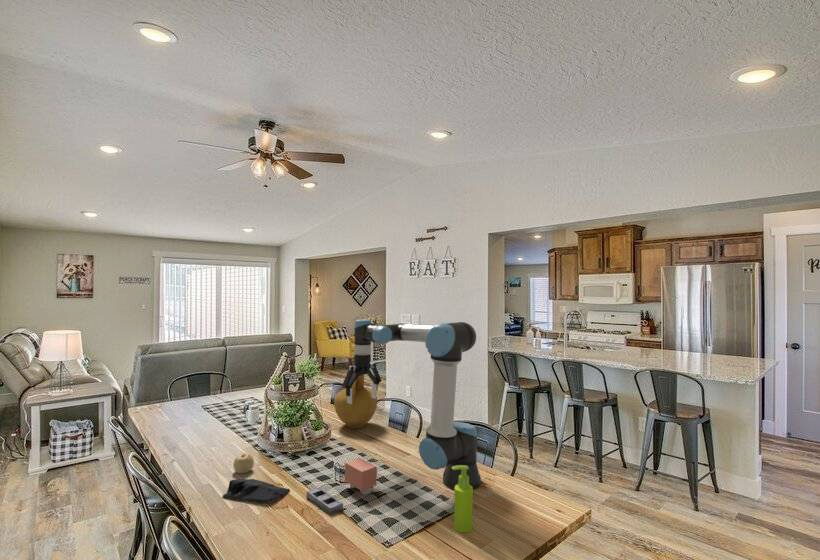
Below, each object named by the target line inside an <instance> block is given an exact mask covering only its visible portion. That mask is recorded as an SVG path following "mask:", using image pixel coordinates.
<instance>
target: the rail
mask: <svg viewBox="0 0 820 560" xmlns="http://www.w3.org/2000/svg"><path fill="white" fill-rule="evenodd" d="M306 499H308V500H310V501H311V502H312V503H313V504H314V505H317V506H318V507H319V508H320V509H321V510H323V511H324V512H326V513H327V514H329V515H334V514H336V513H338V512H341V511H344V502H342V501H341V500H339V499H337V498H336V497H335V496H333V495H332V494H331V493H329V492H327V490H324V489H323V488H321V487H320V486H318V487H315V488H312V489H310V490H306Z"/></svg>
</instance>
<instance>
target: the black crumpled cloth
mask: <svg viewBox="0 0 820 560" xmlns="http://www.w3.org/2000/svg"><path fill="white" fill-rule="evenodd" d="M228 483H229V484H228V487H227V491H226V493H225V494H223V495H222V498H223V499H227V498H229V499H231V500H233V501H241V502H243V501H246V502H249V503H250V502H251V503H259V504H270V503H272V502H274V501H276V500H277V499H279V498H282V497H284V496H285V495H287V494H289V493H290V491H291V489H290V488H285V487H280V486H276V485H274V484H271V483H269V482H266V481H263V480H259V479H255V478H254V479H253V478H250V479H247V478H237V479H231V480H229V482H228Z"/></svg>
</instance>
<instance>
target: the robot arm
mask: <svg viewBox="0 0 820 560" xmlns="http://www.w3.org/2000/svg"><path fill="white" fill-rule="evenodd" d="M353 329H354V334H353V335H354V337H353V338H354V342H353V343H354V349H353V350H354V351H353V352H354V355H353V360H354V365H349V366H348V367H347V369H348V370H347V372H346V375H345V376H344V377H345V378H344V380H343V382H342V385H341V387H342V388H343V389H345V388H346V396H347V403H349V404H352V389H351V387H352V385H353V384H354V382H355V381H356V379H357V377H358V376H359V375H363V374H364V375H367V376H368V377H369V378H370V380H371V382H372V383H371V391H372V398H374V399H377V400H378V396H377V393H378V390H379V389H378V388H379V387H378V385H380V383H381V382H382V378H381V376H380V372H379V371H378V369H377V363H375V362H372V355H371V353H372V343H375V344H380V345H381V344H384V345H386V344H388V343H389V342H396V341H398V342H399V341H405V342H416V343H417V342H418V343H424V344H425V348H426V349H427V352H428V353H429V354H430V359H431V361H432V362H433V363H434V365H433V381H432V394H431V395H432V396H431V397H432V398H431V411H430V425H428V426H427V427H426V430H425V438H423V439H422V440H421V441H420V442H419V445H418V454H419V457H420V459H421V460H422V461H423V463H424V465H425V466H426V467H428V468H429V469H432V470H440V469H444V471H443V474H442V482H443V484H444V485H445V486H446V487H447V488H450V489H451V490H455V485H457V484H459V475H461V469H459V470H453V469H452V466H456V465H467V466H468V468H469V470H467V473H466V475H468V476H469V485H471V486H472V487H473V490H477V488H480V487H481V483H482V482H481V481H482V478H481V474H480V470H479V466H478V464H477V461H478V460H477V458H478V457H477V456H478V454H477V451H478V430H477V428H476V427H475V425H473V424H470V423H466V422H460V421H455V420H454V419H455V418H454V417H455V406H456V405H455V403H456V387H457V386H456V385H457V373H458V372H457V371H458V365H459V364H460V363H461V362H462V358H463V357H462V356H463V353H464V352H468V351H470V350H471V349H473V347H474V346H475V344H476V342H477V333H476V330H475V328H474V327H473V326H472V325H471V324H469V323H468V322H463V321H458V322H445V323H444V322H443V323H439V324H434V325H433V324H410V323H404V322H403V323H395V324H394V323H393V324H380V325H379V324H378V325H377V324H372V320H371V319H365V318H364V319H361V318H360V319H356V320H355V321H354V327H353ZM354 370H355V371H354ZM353 371H354V373H353ZM352 374H353V375H352Z"/></svg>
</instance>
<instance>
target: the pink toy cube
mask: <svg viewBox="0 0 820 560" xmlns="http://www.w3.org/2000/svg"><path fill="white" fill-rule="evenodd" d="M377 468H378V466H377V465H375V464H372V463H371V462H368V461H367V460H365V459H363V458H361V457H357V458H354V459H352V460H348V461H346V462H344V482H346V483H348V484H349V487H351V488H352V489H355V488H356V489H358V490H359V491H360V494H363V495H368V494H370V493H372V488H373V487H375V486H376V485H377V482H378V481H377V476H378V475H377V472H378V471H377V470H378V469H377Z"/></svg>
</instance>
